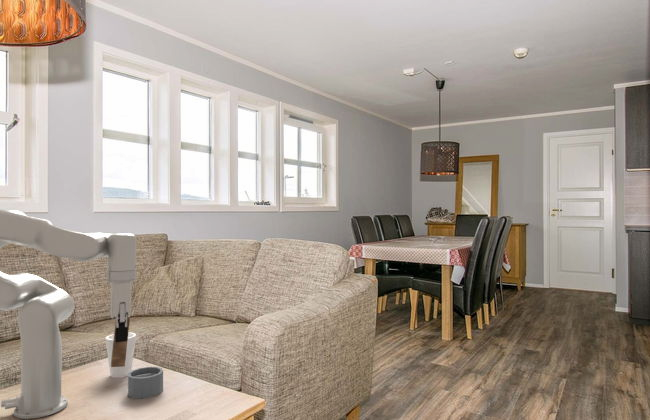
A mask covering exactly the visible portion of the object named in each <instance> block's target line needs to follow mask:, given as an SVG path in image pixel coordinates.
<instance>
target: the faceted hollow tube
mask: <svg viewBox="0 0 650 420" xmlns="http://www.w3.org/2000/svg"><path fill="white" fill-rule="evenodd" d="M155 372H156V373H157V374H156V375H153V376H149V377H133V376H136V375H143V374H149V373H155ZM163 391H164V370H163V368H162V367H159V366H145V367H139V368H136V369H132V370H131V372H130V373H128V376H127V396H128V398H132V399H133V400H134V399H135V400H136V399H137V400H138V399H140V400H142V399H149V398H152V397H156V396H158V395H160V394H161V393H162V392H163Z"/></svg>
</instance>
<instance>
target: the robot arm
mask: <svg viewBox="0 0 650 420" xmlns="http://www.w3.org/2000/svg"><path fill="white" fill-rule="evenodd" d="M9 244H12V245H16V246H17V245H18V246H21V247H22V246H23V247H25V248H30V249H35V250H38V251H40V252H42V253H46V254H49V255H52V256H54V257H55V256H56V257H59V258H64V259H68V260H73V261H79V262H89V261H93V260H98V259H102V258H107V268H106V269H107V270H106V271H107V275H106V276H107V277H106V278H107V280H106V282H107V283H109V284H111V285H110V311H109V313H110V318H111V319H114V318H115V322H116V328H115V327H114V331H115V342H124V341H127V340H128V333H129V332H128V327H127V317H129V316H130V317H131V307H132V289H133V287H132V283H134V282H136V281H137V235H135V234H133V233H105V232H87V233H85V232H84V233H83V232H78V231H74V230H68V229H65V228H61V227H57V226H55V225H53V224H52V222H51V221H50V220H48V219H46V218H45V219H44V218H39V217H36V216H31V215H26V213H24V212H22V211H19V210H18V209H17V210H16V209H0V249H1V248H3V247H5V246H7V245H9ZM17 308H18V309H19V308H20V309H19V311H18V315H17V326H18V329H19V330H18V331H19V337H20V363H21V364H20V372H21V373H20V374H21V375H20V395H19V396H18V395H17V396H15V398H7V399H2V400H1V402H0V407H1V408H4V409H5V410H8V409H9V410H10V409H13V408H14V410H13V416H14V417H15V418H17V419H23V420H24V419H25V420H31V419H38V418H43V417H47V416H50V415H54V414H56V413H58V412H61V411H62V410H63V409H65V408H66V407H67V406H68V404H69V403H68V400H69V399H68V398H67V397H66V396H62V364H63V363H62V361H63V360H62V359H63V358H62V357H63V355H62V354H63V353H62V352H63V351H62V349H63V348H62V347H63V346H62V344H63V343H62V335H61V332H60V327H59V324H60V323H62V322H64V321H65V320H67V319H69V318H70V317H71V316H72V314H73V313H74V309H75V301H74V299H73V296H71V295H70V294H69V293H68V292H67V291H65V290H64V289H62V288H59V287H58V286H56V285H55V284H52V283H50V282H49V281H47V280H46V279H43V278H42V277H40V276H39V275H35V274H32V273H29V272H28V273H27V272H20V273H13V274H7V273H4V272H2V271H0V311H7V312H8V311H11V310H15V309H17ZM125 315H126V316H125ZM118 316H120V317H118ZM119 319H120V320H119Z"/></svg>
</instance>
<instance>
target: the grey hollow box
mask: <svg viewBox="0 0 650 420" xmlns="http://www.w3.org/2000/svg"><path fill="white" fill-rule="evenodd" d="M156 374H157V373H156V372H155V373H149V374H143V375H136V376H133V377H149V376H153V375H156Z"/></svg>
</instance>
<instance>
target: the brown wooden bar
mask: <svg viewBox="0 0 650 420" xmlns="http://www.w3.org/2000/svg"><path fill="white" fill-rule="evenodd" d="M125 316H126V315H125ZM118 317H120V316H118ZM119 320H120V319H119ZM130 320H131V315H130V316H129V317H127V327H128V333H130V332H129V331H130V323H131V321H130ZM115 328H116V321H115V324H114V329H115ZM113 334H114V340H113V350H112V359H111V367H122V366H125V360H126V350H127V341H128V340H127V341H124V342H115V330H114V333H113Z"/></svg>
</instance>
